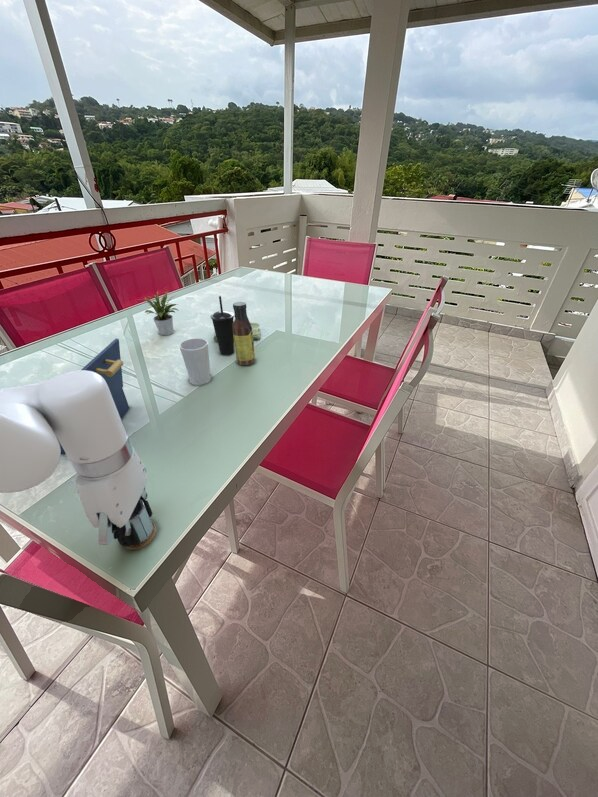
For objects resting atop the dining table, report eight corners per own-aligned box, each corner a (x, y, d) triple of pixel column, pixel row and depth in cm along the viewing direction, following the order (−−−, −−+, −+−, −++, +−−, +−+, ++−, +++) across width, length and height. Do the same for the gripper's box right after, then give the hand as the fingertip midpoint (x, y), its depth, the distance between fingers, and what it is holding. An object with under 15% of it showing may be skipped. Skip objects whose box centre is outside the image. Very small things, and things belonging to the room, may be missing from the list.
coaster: (126, 556, 55) (125, 554, 55) (118, 531, 59) (117, 530, 59) (160, 538, 58) (159, 536, 58) (150, 515, 62) (150, 514, 61)
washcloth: (261, 341, 125) (260, 333, 123) (213, 343, 123) (212, 335, 121) (259, 327, 136) (259, 320, 134) (215, 329, 133) (214, 322, 132)
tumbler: (129, 550, 55) (117, 527, 52) (122, 530, 58) (110, 507, 55) (156, 535, 58) (147, 512, 54) (149, 517, 61) (139, 494, 57)
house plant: (151, 344, 122) (139, 300, 112) (139, 332, 130) (127, 291, 121) (188, 334, 129) (180, 293, 120) (174, 324, 138) (166, 284, 128)
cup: (218, 376, 103) (213, 341, 96) (202, 388, 97) (195, 352, 91) (198, 370, 106) (191, 336, 99) (181, 382, 100) (173, 346, 93)
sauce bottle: (258, 363, 110) (254, 305, 99) (240, 368, 108) (234, 308, 96) (250, 355, 115) (245, 299, 104) (233, 359, 112) (226, 302, 101)
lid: (72, 377, 63) (96, 381, 64) (115, 338, 78) (134, 342, 78) (83, 430, 71) (103, 433, 71) (120, 385, 85) (137, 389, 86)
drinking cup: (212, 356, 114) (203, 299, 103) (220, 346, 121) (213, 291, 109) (233, 358, 113) (227, 300, 102) (240, 348, 120) (235, 293, 108)
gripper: (105, 416, 54) (136, 490, 64) (37, 502, 40) (90, 578, 51) (151, 417, 54) (174, 490, 64) (98, 503, 40) (139, 579, 51)
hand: (137, 528), depth 57 cm, fingers closed on tumbler, 4 cm apart
